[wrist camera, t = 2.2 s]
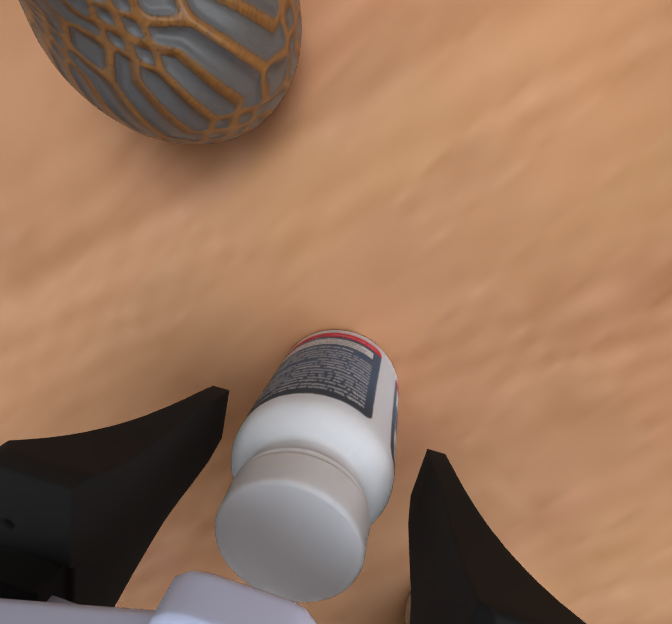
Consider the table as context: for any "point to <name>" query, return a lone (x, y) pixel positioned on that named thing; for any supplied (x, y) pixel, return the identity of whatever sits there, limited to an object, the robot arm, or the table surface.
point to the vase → (174, 60)
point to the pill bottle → (312, 469)
